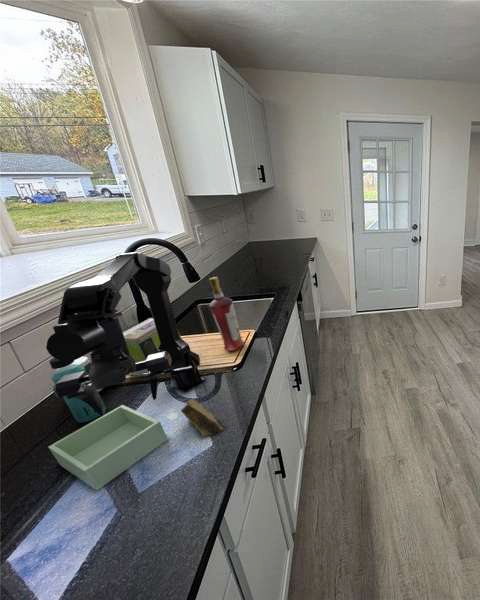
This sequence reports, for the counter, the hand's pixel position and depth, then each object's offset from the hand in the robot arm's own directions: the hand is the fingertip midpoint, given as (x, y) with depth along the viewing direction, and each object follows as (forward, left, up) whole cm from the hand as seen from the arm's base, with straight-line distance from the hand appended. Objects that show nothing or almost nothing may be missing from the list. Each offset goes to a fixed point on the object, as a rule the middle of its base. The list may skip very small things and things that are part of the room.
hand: (130, 406), depth 70 cm
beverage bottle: (0, -28, -13) cm, 31 cm away
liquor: (-41, -22, -13) cm, 48 cm away
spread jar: (-7, -44, -13) cm, 46 cm away
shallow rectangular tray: (+4, -8, -13) cm, 16 cm away
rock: (-10, +5, -13) cm, 18 cm away
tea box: (-24, -40, -13) cm, 48 cm away
